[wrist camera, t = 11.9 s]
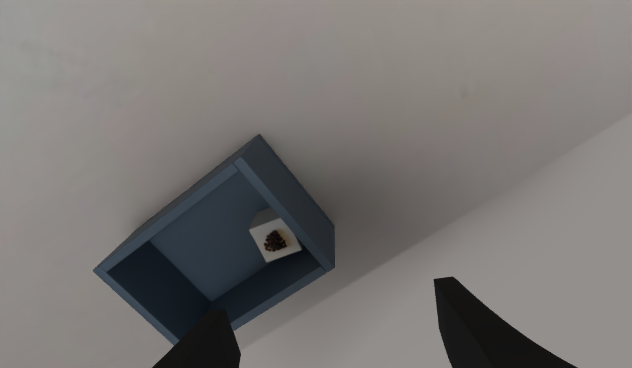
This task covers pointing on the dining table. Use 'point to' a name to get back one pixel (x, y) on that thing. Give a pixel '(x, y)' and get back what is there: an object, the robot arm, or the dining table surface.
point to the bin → (221, 247)
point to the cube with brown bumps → (273, 235)
